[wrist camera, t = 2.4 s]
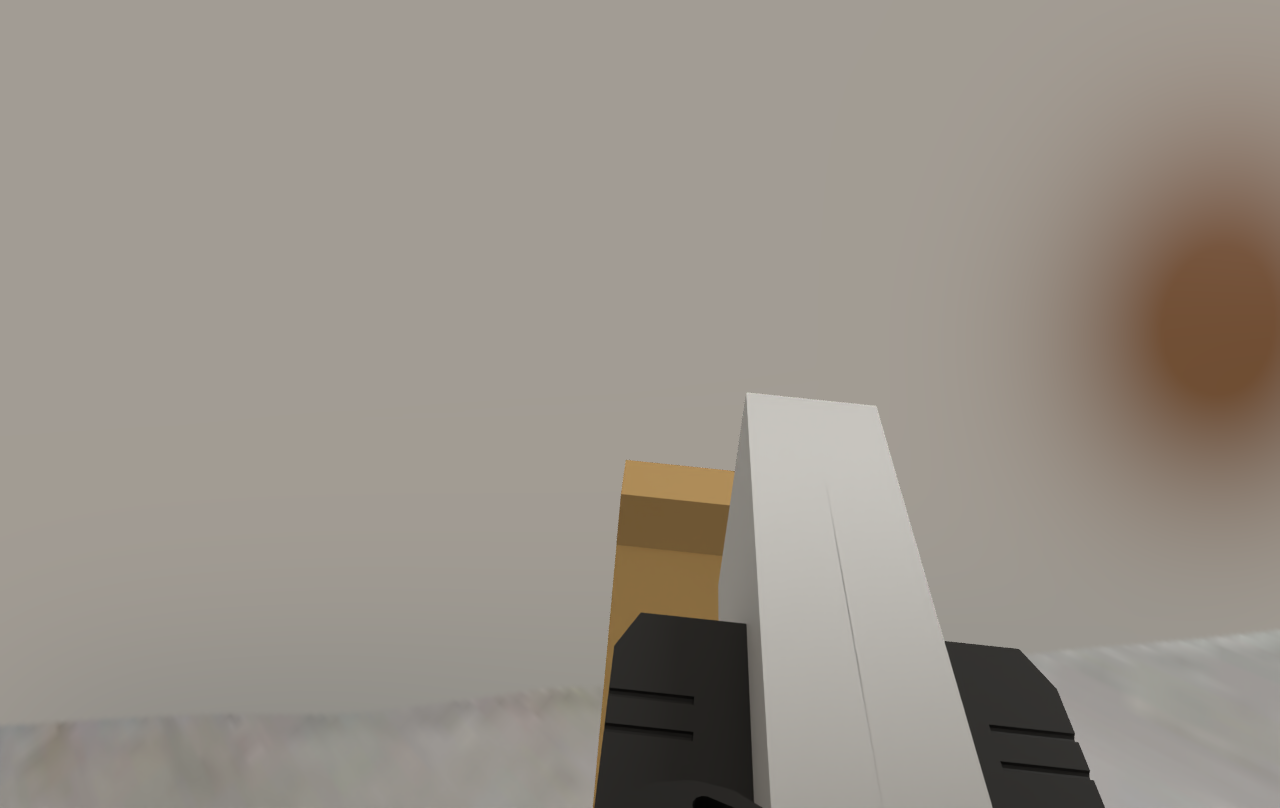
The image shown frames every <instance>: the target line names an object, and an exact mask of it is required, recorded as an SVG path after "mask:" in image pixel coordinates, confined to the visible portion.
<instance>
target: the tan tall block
mask: <svg viewBox="0 0 1280 808" xmlns="http://www.w3.org/2000/svg"><path fill="white" fill-rule="evenodd" d="M734 473H735V471H728V470H718V469H708V468H698V467H689V466H679V465H669V464H660V463H649V462H641V461H631V460H626V463H625V470H624V477H623V484H622V491H621V501H620V513H619V523H618V534H617V546H616V558H615V569H614V580H613V591H612V603H611V614H610V625H609V635H608V646H607V658H606V669H605V679H604V690H603V702H602V713H601V724H600V735H599V746H598V757H597V768H596V779H595V790H594V801H593V808H594V805H595V797H596V789H597V781H598V773H599V765H600V757H601V749H602V741H603V732H604V725H605V716H606V708H607V700H608V693H609V684H610V676H611V668H612V659H613V651H614V645H615V644H616V643H617V642H618V640H619V639H620V638H621V636H622V635H623V634H624V633H625V631H626V630H627V629H628V628H629V626H630V625H631V624H632V623H633V621H634V620H635V619H636V618H637V616H638V615H639V614H640V613H641V612H642V613H651V614H660V615H670V616H679V617H689V618H698V619H707V620H717V621H719V619H718V583H719V577H720V570H721V563H722V556H723V549H724V542H725V535H726V528H727V521H728V515H729V508H730V501H731V494H732V487H733V480H734Z"/></svg>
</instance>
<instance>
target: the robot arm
mask: <svg viewBox="0 0 1280 808" xmlns="http://www.w3.org/2000/svg"><path fill="white" fill-rule="evenodd" d="M718 619H719V621H717V620H707V619H698V618H689V617H679V616H670V615H660V614H651V613H642V612H641V613H640V614H639V615H638V616H637V618H636V619H635V620H634V621H633V623H632V624H631V625H630V626H629V628H628V629H627V630H626V631H625V633H624V634H623V635H622V636H621V638H620V639H619V640H618V642H617V643H616V644H615V645H614V651H613V659H612V668H611V676H610V684H609V693H608V700H607V708H606V716H605V725H604V732H603V741H602V749H601V757H600V765H599V773H598V781H597V789H596V797H595V805H594V808H1105V807H1104V804H1103V802H1102V799H1101V797H1100V794H1099V792H1098V790H1097V787H1096V785H1095V782H1094V780H1090V778H1089V773H1090V770H1089V767H1088V765H1087V762H1086V760H1085V758H1084V755H1083V753H1082V750H1081V748H1080V745H1079V743H1078V742H1075V741H1074V735H1075V733H1074V730H1073V728H1072V725H1071V723H1070V721H1069V718H1068V716H1067V713H1066V711H1065V708H1064V706H1063V703H1062V701H1061V698H1060V696H1059V693H1058V691H1057V689H1056V688H1055V687H1054V686H1053V685H1052V684H1051V683H1050V682H1049V680H1048V679H1047V678H1046V677H1045V676H1044V675H1043V674H1042V673H1041V672H1040V671H1039V670H1038V669H1037V668H1036V667H1035V666H1034V664H1033V663H1032V662H1031V661H1030V660H1029V659H1028V658H1027V657H1026V656H1025V655H1024V654H1023V653H1022V652H1021V651H1020V650H1019V649H1013V648H1003V647H994V646H984V645H976V644H966V643H957V642H947V641H944V638H943V635H942V631H941V628H940V625H939V621H938V618H937V615H936V611H935V607H934V604H933V600H932V597H931V593H930V590H929V587H928V583H927V580H926V576H925V573H924V569H923V566H922V562H921V559H920V555H919V552H918V549H917V545H916V542H915V538H914V535H913V531H912V528H911V524H910V521H909V517H908V514H907V511H906V507H905V504H904V500H903V497H902V493H901V490H900V487H899V483H898V480H897V476H896V472H895V469H894V466H893V462H892V459H891V455H890V452H889V448H888V445H887V442H886V438H885V434H884V431H883V428H882V424H881V421H880V417H879V414H878V410H877V407H876V406H871V405H862V404H853V403H843V402H833V401H824V400H814V399H804V398H795V397H785V396H776V395H766V394H757V393H746V397H745V405H744V411H743V418H742V426H741V432H740V439H739V446H738V453H737V459H736V467H735V473H734V480H733V487H732V494H731V501H730V508H729V515H728V521H727V528H726V535H725V542H724V549H723V556H722V563H721V570H720V577H719V583H718Z"/></svg>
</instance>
